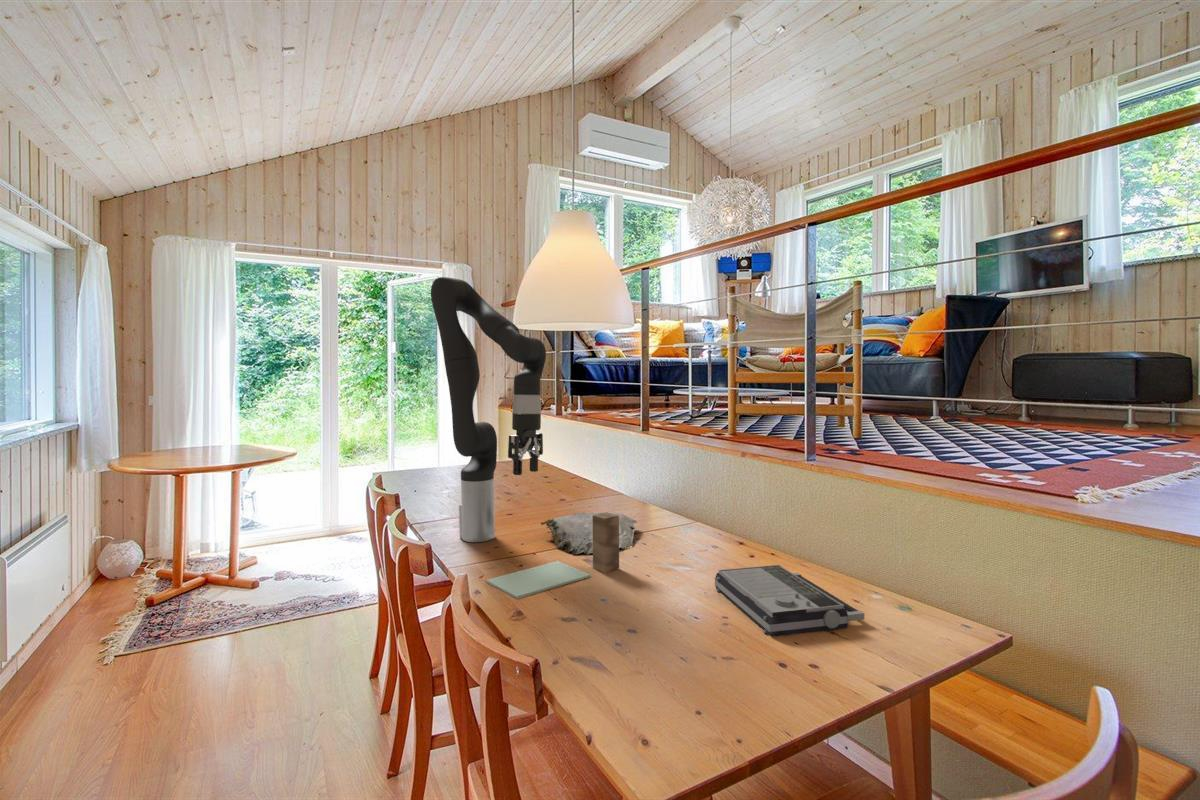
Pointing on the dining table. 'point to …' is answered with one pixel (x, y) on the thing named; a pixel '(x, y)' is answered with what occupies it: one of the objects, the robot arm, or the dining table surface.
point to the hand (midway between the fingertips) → (525, 473)
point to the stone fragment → (586, 532)
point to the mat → (537, 579)
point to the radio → (783, 600)
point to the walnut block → (605, 541)
